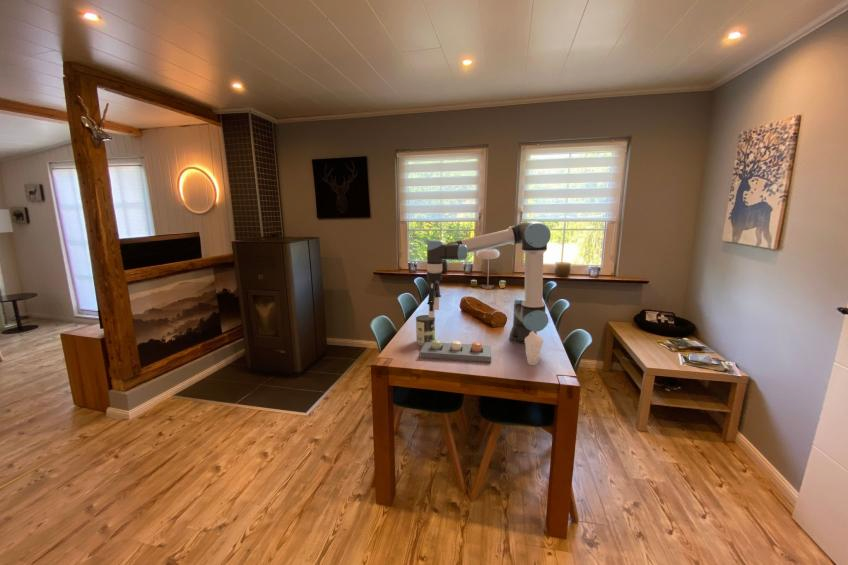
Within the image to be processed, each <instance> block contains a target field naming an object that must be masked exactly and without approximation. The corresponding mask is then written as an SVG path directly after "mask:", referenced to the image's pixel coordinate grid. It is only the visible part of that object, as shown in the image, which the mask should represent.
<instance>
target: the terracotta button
mask: <svg viewBox="0 0 848 565" xmlns="http://www.w3.org/2000/svg"><path fill="white" fill-rule="evenodd" d="M471 344H472V349H471V352H478V353H481V352H482V345H483V343H482V342H479V341H473V342H471Z"/></svg>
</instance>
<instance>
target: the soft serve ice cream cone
mask: <svg viewBox="0 0 848 565" xmlns="http://www.w3.org/2000/svg"><path fill="white" fill-rule="evenodd" d="M524 340H525V342H524V343H525V344H524V345H525V354H526V355H525V356H526V361H527V362H526V363H527V364H528V365H530V366H537V365H538V362H539V359H540V356H541V350H542V346H543V344H544V339H543V337H542V336H540V335H538V333H537V334H536V333H534V331H531V332H530V333H529V335H528V336H527V337H525V339H524Z"/></svg>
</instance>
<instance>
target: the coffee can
mask: <svg viewBox="0 0 848 565" xmlns="http://www.w3.org/2000/svg"><path fill="white" fill-rule="evenodd" d="M435 317H436V316H435ZM435 317H434V318H433V317H429V314H422V315H421V314H420V315H417V316H416V317H415V323H416V324H415V327H416V329H415V331H416V341H415V342H416V344H417V345H419V346H423V345H424V343H425V342H431V341H432V340H436V330H435V329H436V327H435V326H436V324H435V323H436V318H435Z"/></svg>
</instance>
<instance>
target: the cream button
mask: <svg viewBox="0 0 848 565" xmlns="http://www.w3.org/2000/svg"><path fill="white" fill-rule="evenodd" d="M450 343H451V351H461V344H462V342H461V341H459V340H453V341H451V342H450Z"/></svg>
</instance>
